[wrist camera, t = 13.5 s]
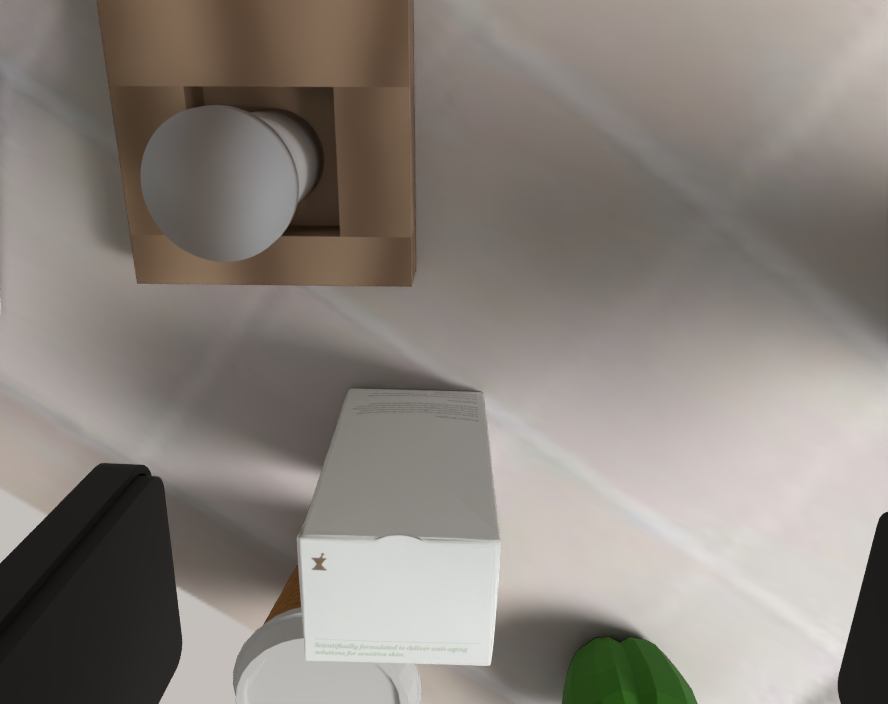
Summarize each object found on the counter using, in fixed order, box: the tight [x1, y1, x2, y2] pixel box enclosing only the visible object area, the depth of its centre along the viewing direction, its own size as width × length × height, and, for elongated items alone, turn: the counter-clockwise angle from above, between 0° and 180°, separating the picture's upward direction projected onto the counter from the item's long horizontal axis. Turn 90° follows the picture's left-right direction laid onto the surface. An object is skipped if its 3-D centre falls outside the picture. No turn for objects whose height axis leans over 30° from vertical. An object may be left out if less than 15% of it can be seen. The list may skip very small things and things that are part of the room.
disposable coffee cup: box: [233, 565, 421, 704], centre depth 43 cm, size 10×10×12 cm
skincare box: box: [297, 389, 501, 666], centre depth 38 cm, size 8×7×16 cm
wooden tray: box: [97, 0, 416, 287], centre depth 33 cm, size 14×24×11 cm, turn 0°
